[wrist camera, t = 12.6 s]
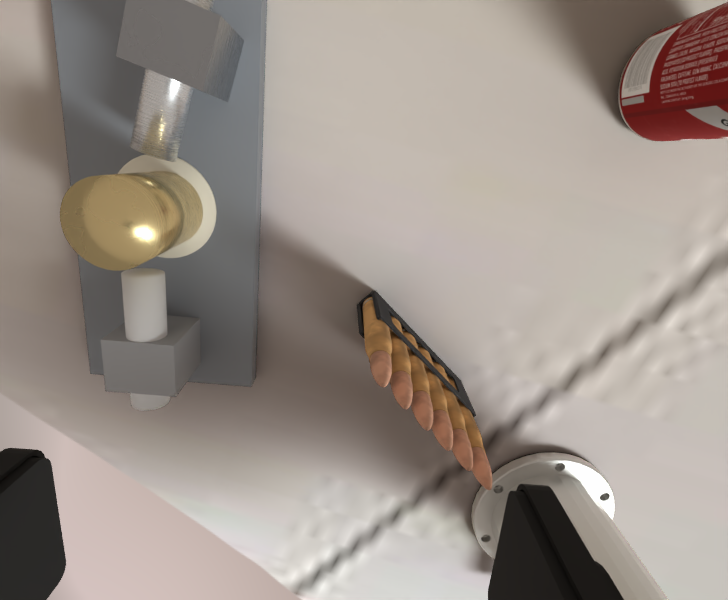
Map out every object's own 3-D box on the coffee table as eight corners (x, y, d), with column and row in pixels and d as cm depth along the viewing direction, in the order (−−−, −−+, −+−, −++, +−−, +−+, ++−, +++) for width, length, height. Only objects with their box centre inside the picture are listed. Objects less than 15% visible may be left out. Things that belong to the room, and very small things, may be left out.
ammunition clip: (355, 305, 33) (357, 384, 21) (373, 289, 32) (384, 362, 21) (443, 395, 35) (486, 508, 24) (461, 381, 35) (513, 490, 24)
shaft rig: (255, 377, 34) (234, 423, 28) (101, 364, 34) (47, 409, 28) (266, -1, 26) (241, -47, 20) (63, -27, 26) (-25, -83, 20)
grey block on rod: (211, 166, 28) (183, 169, 23) (143, 140, 27) (100, 137, 23) (250, 17, 25) (227, -14, 21) (176, -16, 25) (136, -55, 20)
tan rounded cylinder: (202, 174, 28) (155, 180, 21) (203, 247, 29) (160, 274, 23) (126, 166, 27) (54, 170, 21) (131, 240, 29) (65, 266, 22)
